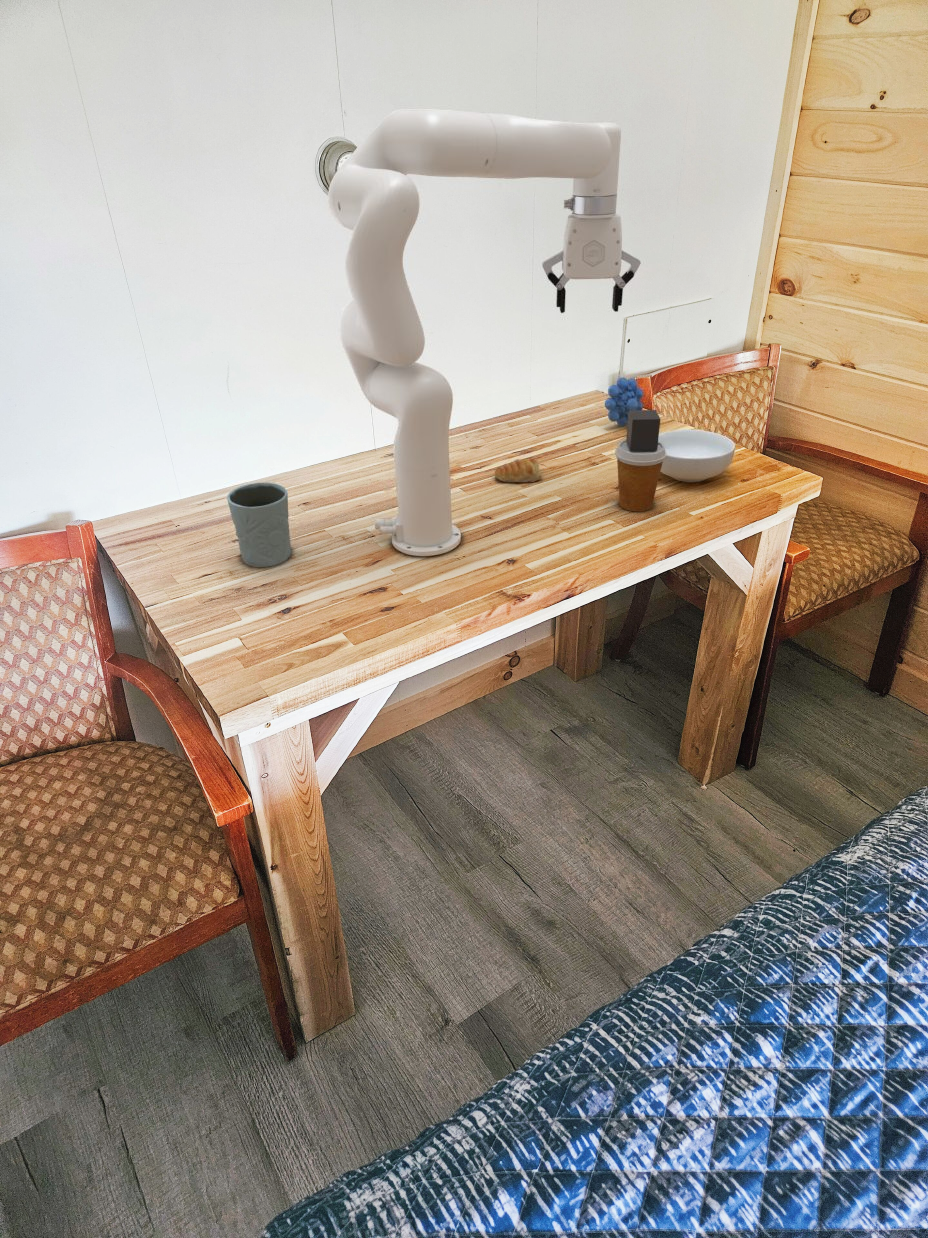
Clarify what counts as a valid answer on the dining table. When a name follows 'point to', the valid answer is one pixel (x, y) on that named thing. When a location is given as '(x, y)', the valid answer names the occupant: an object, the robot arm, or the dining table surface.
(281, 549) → the grey embossed cup
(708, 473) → the cereal bowl
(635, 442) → the black block
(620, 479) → the disposable coffee cup
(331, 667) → the dining table surface
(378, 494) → the dining table surface
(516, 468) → the pastry
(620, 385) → the grapes
